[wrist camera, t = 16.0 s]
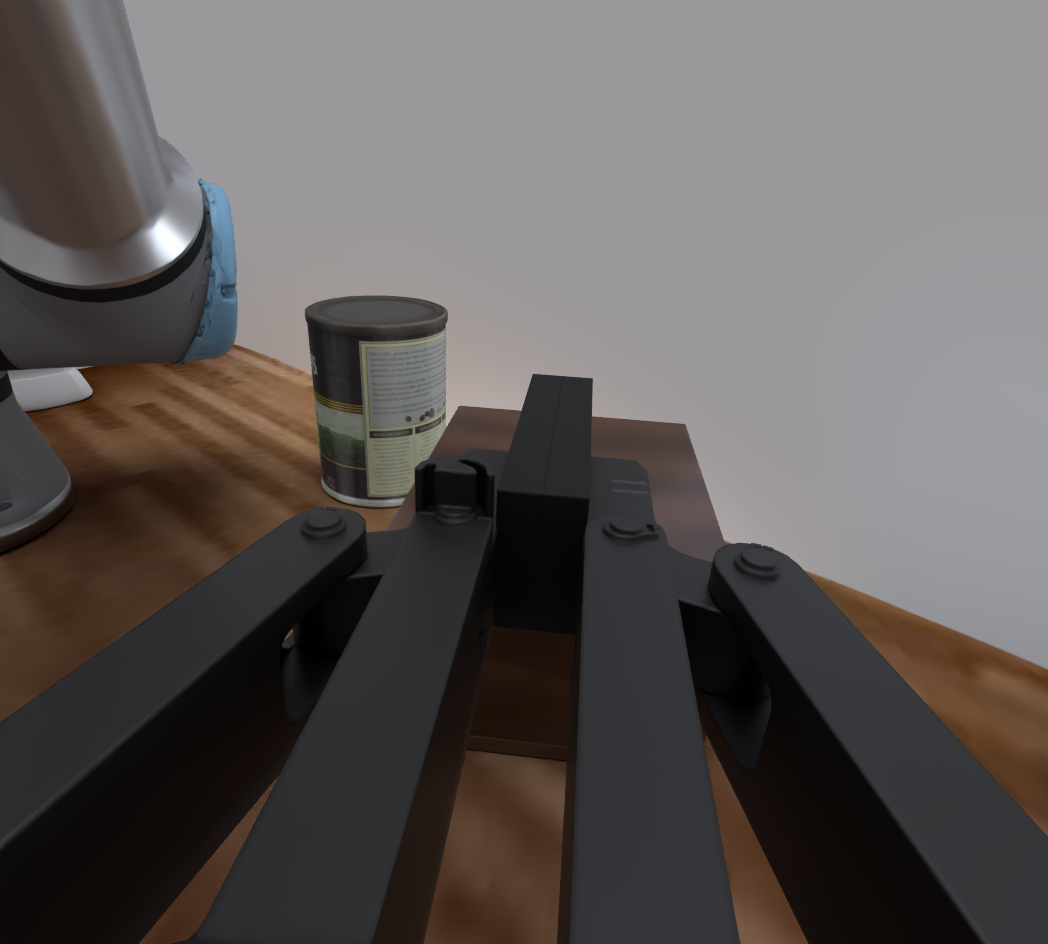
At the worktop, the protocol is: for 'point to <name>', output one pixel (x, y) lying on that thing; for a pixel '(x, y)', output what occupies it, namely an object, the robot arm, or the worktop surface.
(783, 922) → the worktop surface
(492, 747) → the chest
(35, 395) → the soap bottle
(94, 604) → the worktop surface
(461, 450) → the lid
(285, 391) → the worktop surface
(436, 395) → the coffee can
